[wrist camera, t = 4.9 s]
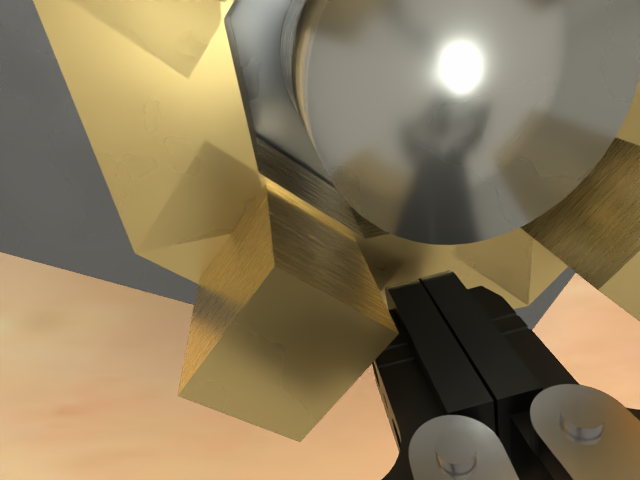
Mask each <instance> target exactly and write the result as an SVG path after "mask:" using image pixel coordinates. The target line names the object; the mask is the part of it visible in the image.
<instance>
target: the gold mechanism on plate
mask: <svg viewBox="0 0 640 480" xmlns="http://www.w3.org/2000/svg"><path fill="white" fill-rule="evenodd" d="M230 21H231V25H232V30H233V34H234V39H235V43H236V48H237V52H238V57H239V61H240V66H241V70H242V74H243V79H244V83H245V88H246V92H247V97H248V101H249V106H250V110H251V115H252V119H253V124H254V128H255V132H256V137H257V138H259V139H261V140H262V141H264V142H265V143H267V144H268V145H270V146H271V147H273V148H274V149H276V150H277V151H279V152H280V153H282V154H283V155H285V156H287V157H288V158H290V159H291V160H293V161H294V162H296V163H297V164H299V165H300V166H302V167H303V168H305V169H306V170H308V171H309V172H311V173H312V174H314V175H316V176H317V177H319V178H320V179H322V180H323V181H325V182H326V183H328V184H329V185H331V186H332V187H334V188H335V189H337V191H338V192H339V193H340V195H341V196H342V197H343V198H344V199H345V200H346V201H347V203H348V204H349V205H350V206H351V207H352V208H353V209H354V210H355V211H357V212H358V213H359V214H360V215H361V216H362V217H364V218H365V219H366V220H368V221H369V222H371V223H372V224H374V225H375V226H377V227H379V228H380V229H382V230H384V231H386V232H389V233H391V234H393V235H395V236H397V237H401V238H404V239H407V240H411V241H414V242H420V243H426V244H433V245H458V244H468V243H474V242H478V241H483V240H488V239H491V238H494V237H497V236H500V235H503V234H506V233H508V232H511V231H513V230H515V229H517V228H519V227H522V226H524V225H526V224H527V223H529V222H531V221H533V220H534V219H536V218H538V217H539V216H541V215H543V214H544V213H546V212H547V211H548V210H550V209H551V208H552V207H554V206H555V205H557V204H558V203H559V202H560V201H562V200H563V199H564V198H565V197H566V196H567V195H568V194H570V193H571V192H572V191H573V190H574V189H575V188H576V187H577V186H578V185H579V184H580V183H581V182H582V181H583V180H584V179H585V178H586V177H587V175H588V174H589V173H590V172H591V171H592V170H593V168H594V167H595V166H596V164H597V163H598V162H599V161H600V159H601V158H602V157H603V155H604V154H605V152H606V151H607V149H608V148H609V146H610V145H611V143H612V141H613V140H614V138H615V137H616V135H617V133H618V131H619V129H620V127H621V125H622V123H623V121H624V119H625V117H626V115H627V113H628V110H629V108H630V105H631V103H632V100H633V98H634V95H635V92H636V89H637V85H638V82H639V78H640V0H239V1H238V3H237V5H236V6H235V8H234V10H233V12H232V13H231V15H230ZM0 252H3V253H7V254H10V255H14V256H18V257H21V258H25V259H29V260H32V261H36V262H40V263H43V264H47V265H51V266H54V267H58V268H62V269H65V270H69V271H73V272H76V273H80V274H84V275H87V276H91V277H95V278H98V279H102V280H106V281H109V282H113V283H117V284H120V285H124V286H128V287H131V288H135V289H139V290H142V291H146V292H150V293H153V294H157V295H161V296H164V297H168V298H171V299H175V300H179V301H182V302H186V303H190V304H193V305H194V304H195V299H196V293H197V288H198V284H197V283H195V282H193V281H191V280H189V279H187V278H185V277H183V276H180V275H178V274H176V273H174V272H172V271H170V270H168V269H166V268H164V267H162V266H160V265H158V264H156V263H154V262H152V261H150V260H148V259H146V258H144V257H141V256H139V255H137V254H135V252H134V250H133V248H132V245H131V243H130V240H129V238H128V235H127V233H126V230H125V228H124V225H123V223H122V220H121V218H120V215H119V213H118V210H117V208H116V205H115V203H114V200H113V198H112V195H111V193H110V190H109V188H108V185H107V183H106V180H105V178H104V176H103V173H102V171H101V168H100V166H99V163H98V161H97V158H96V156H95V153H94V151H93V148H92V146H91V143H90V141H89V138H88V136H87V133H86V131H85V128H84V126H83V123H82V121H81V118H80V116H79V113H78V111H77V108H76V106H75V104H74V101H73V99H72V96H71V94H70V91H69V89H68V86H67V84H66V81H65V79H64V76H63V74H62V71H61V69H60V66H59V64H58V61H57V59H56V56H55V54H54V51H53V49H52V46H51V44H50V41H49V39H48V36H47V34H46V32H45V29H44V27H43V24H42V22H41V19H40V17H39V14H38V12H37V9H36V7H35V4H34V2H33V0H0ZM575 273H576V272H575V271H574V270H572V269H571V268H570V267H569V266H568V267H567V268H566V269H565V270H564V271H563V272H562V273H561V274H560V275H559V276H558V277H557V278H556V279H555V280H554V281H553V282H552V283H551V284H550V285H549V286H548V287H547V288H546V289H545V290H544V291H543V292H542V293H541V294H540V295H539V296H538V297H537V298H536V299H535V300H534V301H533V302H532V303H531V304H530V305H529V306H526V307H521V308H516V309H514V311H515V312H516V314H517V316H518V315H519V316H520V317H521V319H522V320H523V321H524V322H525V323H526V324H527V325H528V328H529V329H531V330H532V329H533V328H534V327H535V325H536V324H537V323H538V321H539V320H540V319H541V317H542V316H543V315H544V314H545V312H546V311H547V310H548V308H549V307H550V306H551V304H552V303H553V302H554V300H555V299H556V298H557V296H558V295H559V294H560V292H561V291H562V290H563V288H564V287H565V286H566V284H567V283H568V282H569V281H570V279H571V278H572V277H573V275H574V274H575Z"/></svg>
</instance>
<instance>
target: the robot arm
mask: <svg viewBox="0 0 640 480" xmlns="http://www.w3.org/2000/svg"><path fill="white" fill-rule="evenodd" d="M385 294H386V300H387V305H388V311H389V313H390V315H391V317H392V319H393V322H394V324H395V326H396V328H397V330H398V332H399V334H398V335H397V336H396V337H395V338H394V340H393V341H392V342H391V343H390V344H389V345H388V346H387V347H386V348H385V349H384V351H383V352H382V353H381V354H380V355H379V356H378V357H377V358H376V359H375V360H374V362H373V363H372V365H373V370H374V374H375V379H376V383H377V386H378V389H379V392H380V395H381V398H382V401H383V404H384V407H385V410H386V413H387V416H388V419H389V422H390V426H391V429H392V432H393V435H394V438H395V441H396V444H397V447H398V450H399V456H398V458H397V460H396V463H395V465H394V466H393V468H392V469H391V470H390V472H389V473H388V474H387V475H386V476H385V477H384V478H383V479H382V480H640V410H636V409H631V408H625V407H624V406H623V405H622V404H621V403H620V402H618V401H617V400H616V399H614V398H613V397H611V396H610V395H608V394H606V393H604V392H602V391H600V390H597V389H594V388H592V387H587V386H583V385H580V384H579V383H578V382H577V381H576V380H575V379H574V378H573V377H572V376H571V375H570V373H569V372H568V371H567V370H566V369H565V368H564V367H563V365H562V364H561V363H560V362H559V361H558V360H557V359H556V357H555V356H554V355H553V354H552V353H551V352H550V351H549V349H548V348H547V347H546V346H545V345H544V344H543V343H542V341H541V340H540V339H539V338H538V337H537V336H536V335H535V333H534V332H533V331H532V330H531V329H529V328H528V325H527V324H526V323H525V322H524V321H523V320H522V319H521V317H520V316H519V315H518V316H517V314H516V312H515V311H514V309H513V308H512V307H511V306H510V305H509V304H508V303H507V301H506V300H505V299H504V298H503V297H502V296H500V295H498V294H497V293H495V292H493V291H491V290H489V289H487V288H485V287H483V286H478V287H474V288H470V289H467V288H466V287H465V286H464V285H463V283H462V282H461V281H460V279H459V278H458V277H457V275H456V274H455V273H454V272H453V271H452V270H448V271H444V272H440V273H436V274H433V275H429V276H425V277H421V278H418V279H414V280H410V281H406V282H403V283H399V284H395V285H391V286H387V287H385Z"/></svg>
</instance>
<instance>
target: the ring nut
mask: <svg viewBox="0 0 640 480" xmlns="http://www.w3.org/2000/svg"><path fill="white" fill-rule="evenodd" d="M238 1H239V0H33V2H34V4H35V7H36V9H37V12H38V14H39V17H40V19H41V22H42V24H43V27H44V29H45V32H46V34H47V36H48V39H49V41H50V44H51V46H52V49H53V51H54V54H55V56H56V59H57V61H58V64H59V66H60V69H61V71H62V74H63V76H64V79H65V81H66V84H67V86H68V89H69V91H70V94H71V96H72V99H73V101H74V104H75V106H76V108H77V111H78V113H79V116H80V118H81V121H82V123H83V126H84V128H85V131H86V133H87V136H88V138H89V141H90V143H91V146H92V148H93V151H94V153H95V156H96V158H97V161H98V163H99V166H100V168H101V171H102V173H103V176H104V178H105V180H106V183H107V185H108V188H109V190H110V193H111V195H112V198H113V200H114V203H115V205H116V208H117V210H118V213H119V215H120V218H121V220H122V223H123V225H124V228H125V230H126V233H127V235H128V238H129V240H130V243H131V245H132V248H133V250H134V252H135V254H137V255H139V256H141V257H144V258H146V259H148V260H150V261H152V262H154V263H156V264H158V265H160V266H162V267H164V268H166V269H168V270H170V271H172V272H174V273H176V274H178V275H180V276H183V277H185V278H187V279H189V280H191V281H193V282H195V283H197V284H198V288H197V293H196V299H195V304H194V310H193V315H192V321H191V326H190V331H189V337H188V342H187V348H186V353H185V359H184V364H183V369H182V375H181V380H180V386H179V391H178V396H180V397H182V398H185V399H188V400H190V401H193V402H196V403H198V404H201V405H204V406H206V407H209V408H212V409H214V410H217V411H219V412H222V413H225V414H227V415H230V416H233V417H235V418H238V419H241V420H243V421H246V422H248V423H251V424H254V425H256V426H259V427H262V428H264V429H267V430H270V431H272V432H275V433H277V434H280V435H283V436H285V437H288V438H291V439H293V440H296V441H299V442H301V441H302V439H303V438H304V437H305V436H306V435H307V434H308V433H309V432H310V431H311V430H312V428H313V427H314V426H315V425H316V424H317V423H318V422H319V421H320V420H321V419H322V417H323V416H324V415H325V414H326V413H327V412H328V411H329V410H330V409H331V408H332V407H333V405H334V404H335V403H336V402H337V401H338V400H339V399H340V398H341V397H342V396H343V394H344V393H345V392H346V391H347V390H348V389H349V388H350V387H351V386H352V385H353V383H354V382H355V381H356V380H357V379H358V378H359V377H360V376H361V375H362V374H363V372H364V371H365V370H366V369H367V368H368V367H369V366H370V365H371V364H372V363H373V362H374V360H375V359H376V358H377V357H378V356H379V355H380V354H381V353H382V352H383V351H384V349H385V348H386V347H387V346H388V345H389V344H390V343H391V342H392V341H393V340H394V338H395V337H396V336H397V335H398V334H399V332H398V330H397V328H396V326H395V324H394V322H393V319H392V317H391V315H390V313H389V311H388V305H387V300H386V294H385V287H387V286H391V285H395V284H399V283H403V282H406V281H410V280H414V279H418V278H421V277H425V276H429V275H433V274H436V273H440V272H444V271H448V270H452V271H453V272H454V273H455V274H456V275H457V277H458V278H459V279H460V281H461V282H462V283H463V285H464V286H465V287H466V288H467V289H470V288H474V287H478V286H483V287H485V288H487V289H489V290H491V291H493V292H495V293H497V294H498V295H500V296H502V297H503V298H504V299H505V300H506V301H507V303H508V304H509V305H510V306H511V307H512V308H513V309H516V308H521V307H526V306H529V305H530V304H531V303H532V302H533V301H534V300H535V299H536V298H537V297H538V296H539V295H540V294H541V293H542V292H543V291H544V290H545V289H546V288H547V287H548V286H549V285H550V284H551V283H552V282H553V281H554V280H555V279H556V278H557V277H558V276H559V275H560V274H561V273H562V272H563V271H564V270H565V269H566V268H567V267H568V266H569V267H570V268H571V269H572V270H574V271H575V272H576V273H577V274H579V275H580V276H581V277H582V278H584V279H585V280H586V281H587V282H589V283H590V284H591V285H592V286H594V287H595V288H596V289H597V290H599V291H600V292H601V293H603V294H604V295H605V296H607V297H608V298H609V299H611V300H612V301H613V302H615V303H616V304H617V305H619V306H620V307H621V308H623V309H624V310H625V311H626V312H628V313H629V314H630V315H632V316H633V317H634V318H636V319H637V320H638V321H640V78H639V82H638V85H637V89H636V92H635V95H634V98H633V100H632V103H631V105H630V108H629V110H628V113H627V115H626V117H625V119H624V121H623V123H622V125H621V127H620V129H619V131H618V133H617V135H616V137H615V138H614V140H613V141H612V143H611V145H610V146H609V148H608V149H607V151H606V152H605V154H604V155H603V157H602V158H601V159H600V161H599V162H598V163H597V164H596V166H595V167H594V168H593V170H592V171H591V172H590V173H589V174H588V175H587V177H586V178H585V179H584V180H583V181H582V182H581V183H580V184H579V185H578V186H577V187H576V188H575V189H574V190H573V191H572V192H571V193H570V194H568V195H567V196H566V197H565V198H564V199H563V200H562V201H560V202H559V203H558V204H557V205H555V206H554V207H552V208H551V209H550V210H548V211H547V212H546V213H544V214H543V215H541V216H539V217H538V218H536V219H534V220H533V221H531V222H529V223H527V224H526V225H524V226H522V227H519V228H517V229H515V230H513V231H511V232H508V233H506V234H503V235H500V236H497V237H494V238H491V239H488V240H483V241H478V242H474V243H468V244H458V245H433V244H426V243H420V242H414V241H411V240H407V239H404V238H401V237H397V236H395V235H393V234H391V233H389V232H386V231H384V230H382V229H380V228H379V227H377V226H375V225H374V224H372V223H371V222H369V221H368V220H366V219H365V218H364V217H362V216H361V215H360V214H359V213H358V212H357V211H355V210H354V209H353V208H352V207H351V206H350V205H349V204H348V203H347V201H346V200H345V199H344V198H343V197H342V196H341V195H340V193H339V192H338V191H337V189H335V188H334V187H332V186H331V185H329V184H328V183H326V182H325V181H323V180H322V179H320V178H319V177H317V176H316V175H314V174H312V173H311V172H309V171H308V170H306V169H305V168H303V167H302V166H300V165H299V164H297V163H296V162H294V161H293V160H291V159H290V158H288V157H287V156H285V155H283V154H282V153H280V152H279V151H277V150H276V149H274V148H273V147H271V146H270V145H268V144H267V143H265V142H264V141H262V140H261V139H259V138H257V137H256V132H255V128H254V124H253V119H252V115H251V110H250V106H249V101H248V97H247V92H246V88H245V83H244V79H243V74H242V70H241V66H240V61H239V57H238V52H237V48H236V43H235V39H234V34H233V30H232V25H231V21H230V15H231V13H232V12H233V10H234V8H235V6H236V5H237V3H238Z"/></svg>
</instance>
